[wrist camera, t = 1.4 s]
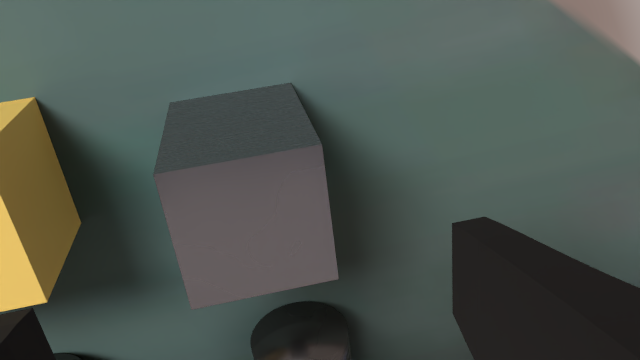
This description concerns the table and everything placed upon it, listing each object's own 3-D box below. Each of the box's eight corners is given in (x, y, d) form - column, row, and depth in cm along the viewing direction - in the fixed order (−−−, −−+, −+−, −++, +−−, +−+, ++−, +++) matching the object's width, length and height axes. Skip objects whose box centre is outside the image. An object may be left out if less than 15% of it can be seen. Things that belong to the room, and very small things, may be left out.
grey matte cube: (290, 82, 16) (321, 144, 11) (305, 188, 17) (338, 278, 13) (170, 102, 15) (153, 174, 11) (196, 208, 17) (191, 309, 12)
